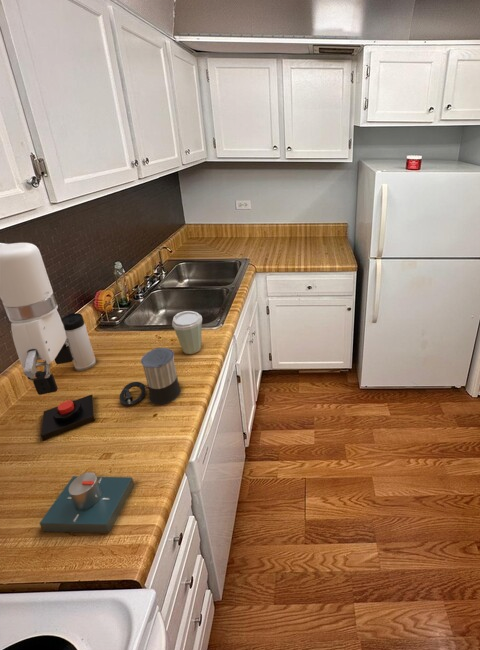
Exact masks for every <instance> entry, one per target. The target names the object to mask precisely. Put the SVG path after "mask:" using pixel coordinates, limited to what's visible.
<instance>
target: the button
mask: <svg viewBox="0 0 480 650" xmlns="http://www.w3.org/2000/svg"><path fill="white" fill-rule="evenodd" d="M57 407H58V411H59V413H60V414H61V415H64V414H67V413H69V412H71V411H72V410H73V409H74V407H75V406H74V404H73V401H71V400H64V401H63V402H61V403H60V404H59V405H58V406H57Z"/></svg>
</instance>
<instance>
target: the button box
mask: <svg viewBox="0 0 480 650" xmlns="http://www.w3.org/2000/svg"><path fill="white" fill-rule="evenodd" d="M70 401H73V404H74V406H75V407H74V409H73V410H72V411H71V412H69V413H67V414H64V415H61V414H60V413H59V411H58V406H55V407H52V408H49V409H46V410H43V414H42V422H41V430H40V431H41V432H40V437H41V440H42V441H47V440H50V439H52V438H54V437H57V436H60V435H63V434H64V433H68V432H70V431H72V430H75V429H78V428H81V427H83V426H85V425H88V424H90V423H93V422H96V412H95V411H96V409H95V399H94V395H93V394H90V395H86V396H84V397H80V398H77V399H71V400H70Z"/></svg>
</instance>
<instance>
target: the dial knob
mask: <svg viewBox="0 0 480 650" xmlns="http://www.w3.org/2000/svg"><path fill="white" fill-rule="evenodd" d="M97 477H98V476H97V475H96V473H94V472H91V471H88V472H84V473H82V474H80V475H78V477H77V478H76V479H75V480H73V482H72V483H71V484H70V486H69V493H70V496H71V498H72V501H73V503H74V506H75V508H76V509H77V510H80V511H83V510H87V509H89V508H91V507H92V506H94V505H95V504H96V503H97V502H98V501H99V499H100V497H101V494H102V491H101V488H100V485H99V482H98V479H97Z"/></svg>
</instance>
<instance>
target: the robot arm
mask: <svg viewBox="0 0 480 650" xmlns="http://www.w3.org/2000/svg"><path fill="white" fill-rule="evenodd" d="M0 301H1V303H2V305H3V308H4V311H5V313H6V315H7V318H8V320H9V322H11V323H10V328H11V336H12V339H13V340H12V341H13V344H14V347H15V350H16V354H17V356H18V361H19V363H20V365H21V367H22V368H23V370H22V373H23V375H24V376H26V378H27V379H28V380H29V381H30V382H33V385H34V388H35V391H36V393H37V395H39V396H42V395H45V394H46V395H47V394H52V393H56V392H58V390H59V389H58V385H57V383H56V379H55V377H54V374H53V373H51V364H52V363H53V362H54V361H55V364H56V365H63V364H68V363H73V357H72V354H71V351H70V348H69V346H68V344H69V342H68V340H67V339H66V335H67V334H66V332H65V328H64V322H62V321H61V319H62V318H61V316H60V313H59V312H58V308H59V306H58V302H57V300H56V297H55V294H54V291H53V287H52V285H51V282H50V278H49V275H48V272H47V269H46V266H45V262H44V260H43V256H42V254H41V251H40V248H39V247H37V245H35V244H34V243H31V242H14V243H4V242H0ZM40 360H42V361H40ZM38 361H40V362H38ZM38 367H43V371H41V370H38Z"/></svg>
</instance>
